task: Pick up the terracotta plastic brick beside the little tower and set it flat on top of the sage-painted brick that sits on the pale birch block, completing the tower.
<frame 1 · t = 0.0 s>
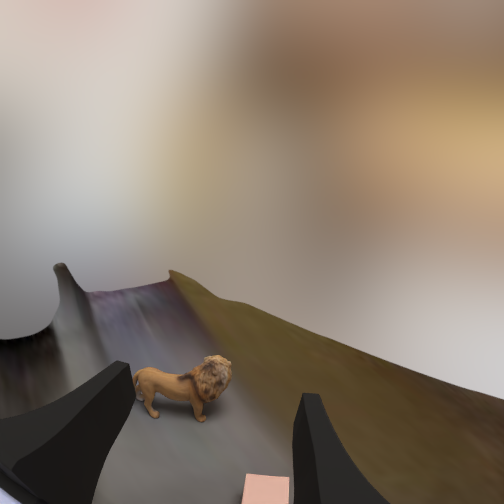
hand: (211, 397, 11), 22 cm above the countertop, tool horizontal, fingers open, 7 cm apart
lion figurine: (179, 409, 36), on the countertop
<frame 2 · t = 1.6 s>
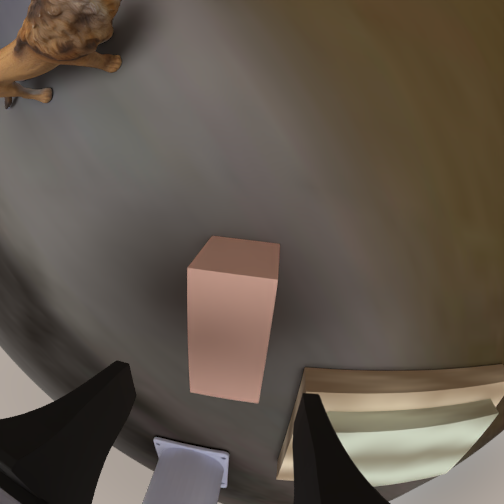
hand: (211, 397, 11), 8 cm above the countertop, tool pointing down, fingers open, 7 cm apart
tower base: (393, 424, 22), on the countertop
lion figurine: (79, 57, 14), on the countertop
terracotta brick: (240, 298, 19), on the countertop
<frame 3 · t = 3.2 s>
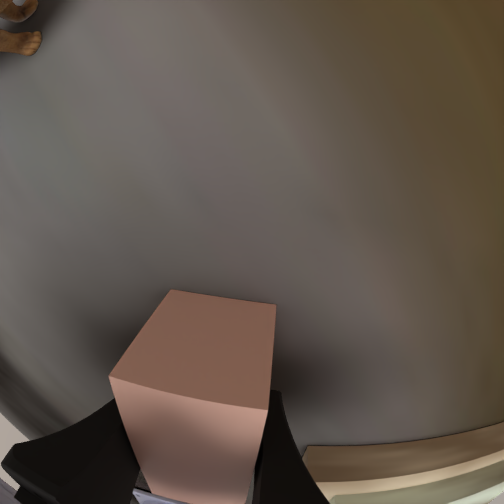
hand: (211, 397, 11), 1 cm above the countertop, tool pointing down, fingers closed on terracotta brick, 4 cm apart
tower base: (408, 483, 15), on the countertop
lion figurine: (2, 43, 8), on the countertop
terracotta brick: (218, 375, 12), on the countertop, touching gripper
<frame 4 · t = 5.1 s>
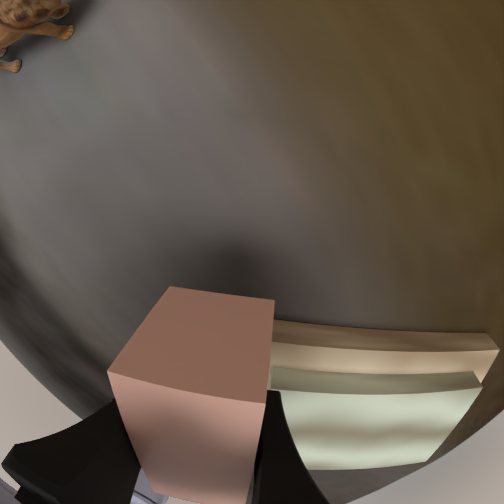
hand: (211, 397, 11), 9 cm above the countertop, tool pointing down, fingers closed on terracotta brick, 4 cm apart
tower base: (360, 397, 22), on the countertop
lion figurine: (43, 32, 14), on the countertop
terracotta brick: (218, 372, 12), point 7 cm above the countertop, touching gripper
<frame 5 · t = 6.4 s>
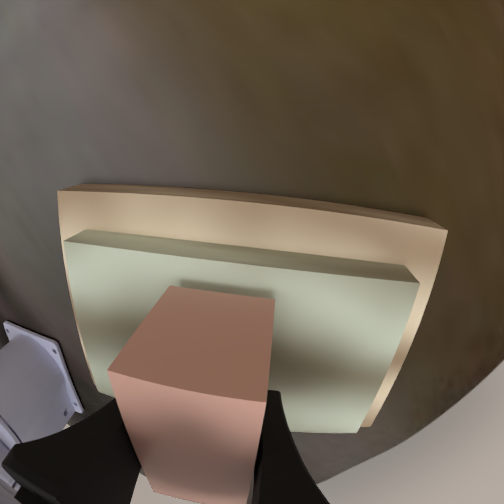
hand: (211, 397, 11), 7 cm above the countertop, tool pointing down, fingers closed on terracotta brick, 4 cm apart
tower base: (236, 312, 17), on the countertop
terracotta brick: (218, 371, 12), point 5 cm above the countertop, touching gripper
when the fingers open (7 cm above the countertop, at t = 7.2 s): terracotta brick stays where it is, resting on tower base.
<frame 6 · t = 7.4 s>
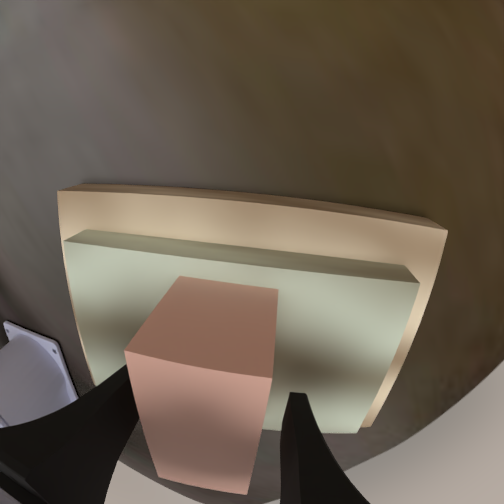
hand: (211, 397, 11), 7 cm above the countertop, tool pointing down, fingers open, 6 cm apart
tower base: (236, 312, 17), on the countertop
terracotta brick: (223, 359, 13), point 4 cm above the countertop, touching tower base
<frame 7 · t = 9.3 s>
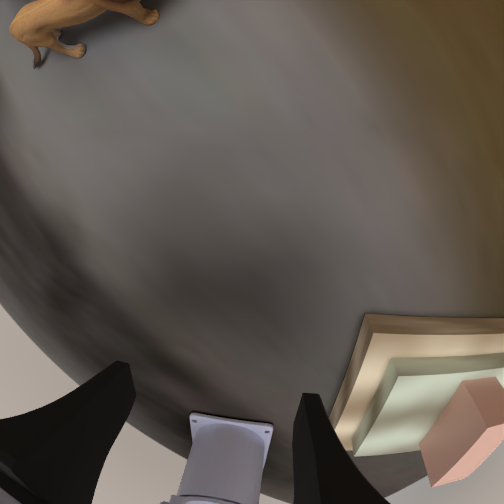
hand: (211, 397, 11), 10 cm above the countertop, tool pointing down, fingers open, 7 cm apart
tower base: (439, 381, 22), on the countertop
lion figurine: (113, 16, 15), on the countertop
terracotta brick: (457, 413, 17), point 4 cm above the countertop, touching tower base
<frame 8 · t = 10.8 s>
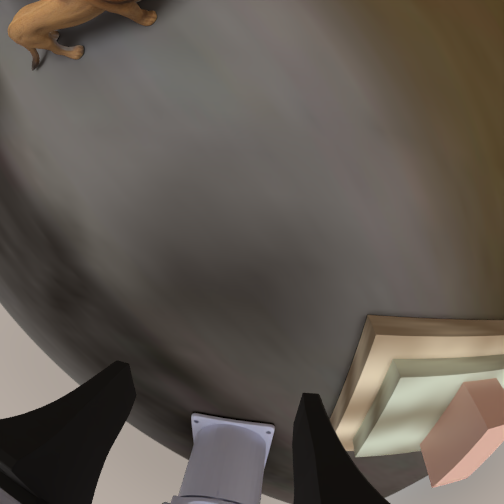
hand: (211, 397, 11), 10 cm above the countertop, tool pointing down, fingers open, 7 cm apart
tower base: (440, 382, 22), on the countertop
lion figurine: (111, 17, 15), on the countertop
terracotta brick: (457, 414, 17), point 4 cm above the countertop, touching tower base
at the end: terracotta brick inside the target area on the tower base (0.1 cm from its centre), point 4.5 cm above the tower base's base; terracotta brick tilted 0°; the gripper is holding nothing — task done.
